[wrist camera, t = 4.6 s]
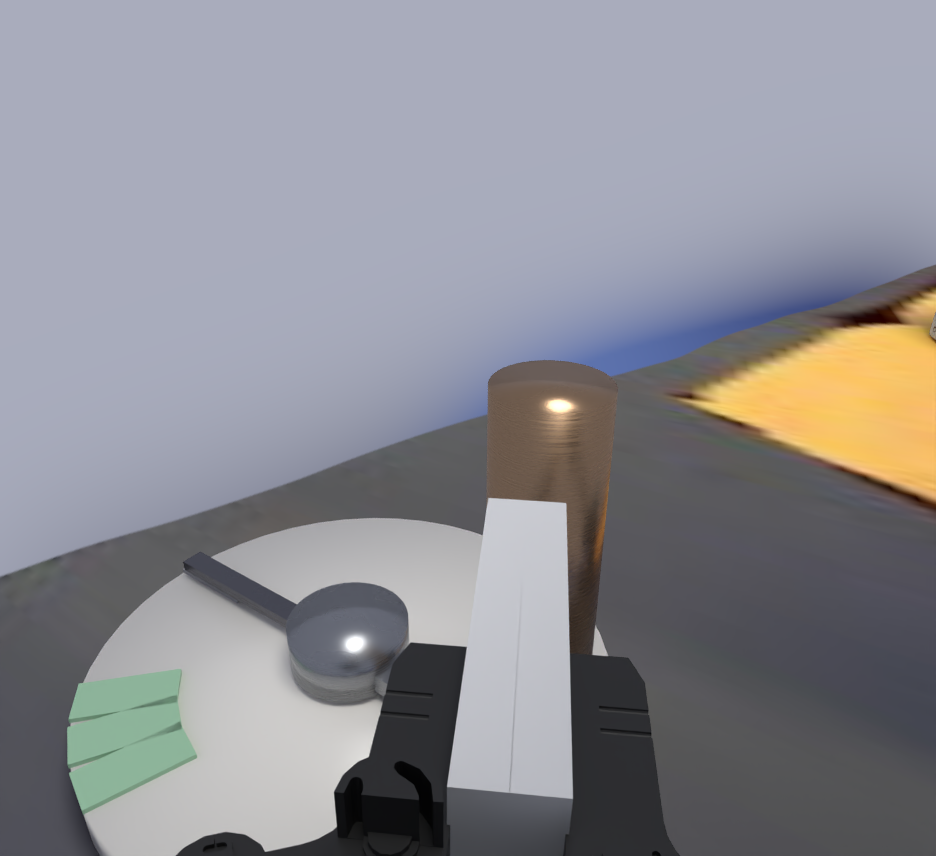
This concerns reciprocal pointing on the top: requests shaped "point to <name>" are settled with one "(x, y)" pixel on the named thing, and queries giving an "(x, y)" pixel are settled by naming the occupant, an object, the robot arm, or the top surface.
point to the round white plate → (248, 691)
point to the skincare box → (933, 328)
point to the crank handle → (508, 477)
